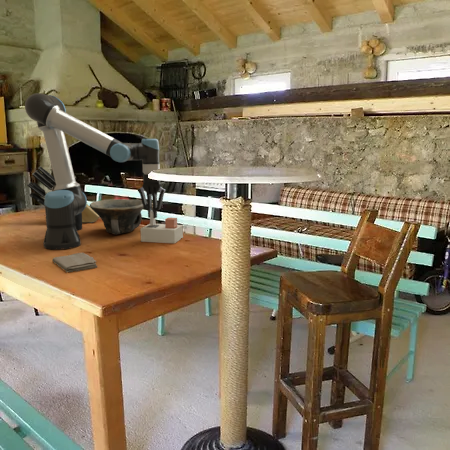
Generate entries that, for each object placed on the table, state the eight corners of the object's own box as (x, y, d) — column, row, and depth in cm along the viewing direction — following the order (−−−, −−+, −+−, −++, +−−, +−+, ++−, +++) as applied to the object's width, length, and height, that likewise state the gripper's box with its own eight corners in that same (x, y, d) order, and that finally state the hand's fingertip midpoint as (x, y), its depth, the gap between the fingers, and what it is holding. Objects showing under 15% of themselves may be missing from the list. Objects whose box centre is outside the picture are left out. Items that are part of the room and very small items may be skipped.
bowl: (134, 239, 206) (132, 207, 203) (81, 237, 211) (79, 205, 208) (154, 228, 232) (153, 199, 229) (107, 226, 237) (105, 197, 234)
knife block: (32, 222, 246) (27, 165, 240) (99, 219, 256) (96, 164, 250) (29, 226, 235) (24, 167, 229) (99, 222, 245) (96, 166, 239)
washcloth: (67, 274, 155) (66, 266, 155) (51, 263, 169) (50, 255, 169) (100, 268, 162) (99, 260, 162) (81, 258, 176) (81, 250, 176)
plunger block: (174, 243, 199) (174, 230, 198) (140, 241, 202) (140, 228, 201) (182, 237, 210) (182, 225, 209) (150, 235, 214) (150, 223, 213)
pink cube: (174, 229, 202) (174, 219, 201) (165, 228, 203) (165, 219, 202) (177, 227, 206) (177, 217, 205) (168, 227, 207) (168, 217, 206)
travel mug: (79, 231, 224) (77, 191, 220) (64, 231, 224) (62, 191, 220) (84, 228, 231) (82, 189, 227) (70, 227, 231) (67, 189, 228)
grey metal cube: (155, 236, 204) (155, 226, 204) (147, 235, 205) (146, 226, 204) (158, 234, 208) (158, 224, 208) (150, 233, 209) (150, 224, 208)
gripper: (167, 173, 204) (169, 224, 208) (141, 172, 206) (142, 222, 211) (162, 174, 196) (163, 227, 201) (134, 173, 199) (136, 225, 204)
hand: (152, 224), depth 206 cm, fingers closed
